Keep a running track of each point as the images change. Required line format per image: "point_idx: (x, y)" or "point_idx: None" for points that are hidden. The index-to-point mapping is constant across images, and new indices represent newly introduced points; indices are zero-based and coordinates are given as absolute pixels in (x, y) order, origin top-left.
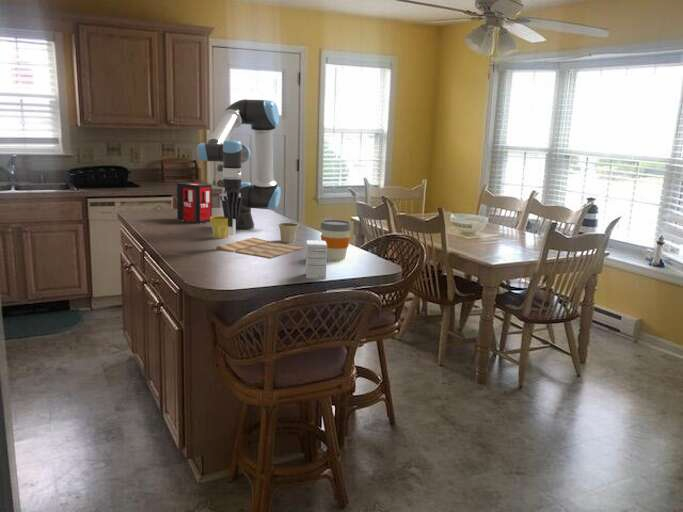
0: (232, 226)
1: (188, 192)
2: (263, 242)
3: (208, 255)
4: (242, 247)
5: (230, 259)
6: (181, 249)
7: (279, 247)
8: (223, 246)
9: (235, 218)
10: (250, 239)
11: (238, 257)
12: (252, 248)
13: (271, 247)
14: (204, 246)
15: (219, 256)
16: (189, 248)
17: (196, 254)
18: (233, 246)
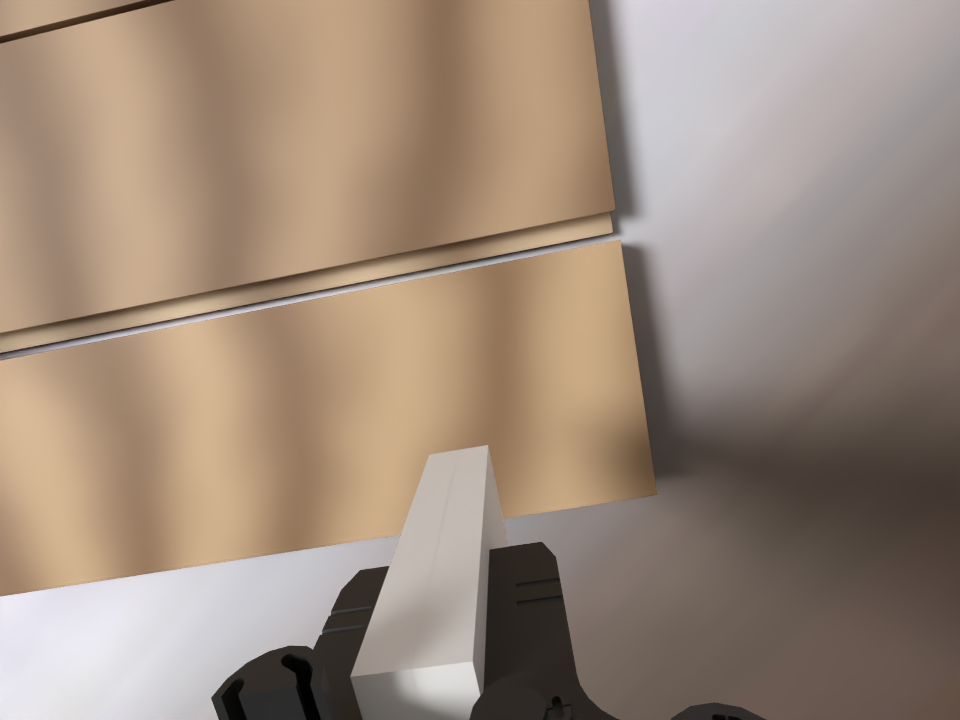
0: (487, 542)
1: None
2: (20, 366)
3: (872, 354)
4: (414, 304)
5: (867, 12)
6: (839, 716)
7: (1, 4)
8: (585, 454)
9: (332, 708)
10: (79, 546)
11: (713, 38)
12: (340, 195)
13: (96, 77)
14: (582, 686)
15: (828, 235)
16: (752, 705)
17: (918, 470)
18: (478, 396)
